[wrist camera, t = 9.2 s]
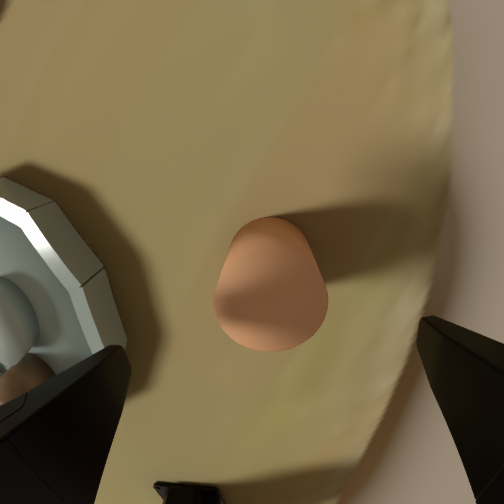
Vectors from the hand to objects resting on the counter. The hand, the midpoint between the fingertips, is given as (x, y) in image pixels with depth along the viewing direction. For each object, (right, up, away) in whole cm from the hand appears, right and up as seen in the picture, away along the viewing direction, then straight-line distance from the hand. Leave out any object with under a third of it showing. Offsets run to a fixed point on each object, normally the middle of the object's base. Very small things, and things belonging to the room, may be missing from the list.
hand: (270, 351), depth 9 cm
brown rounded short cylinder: (-17, -6, +10) cm, 20 cm away
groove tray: (-17, -1, +9) cm, 20 cm away
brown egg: (0, +3, +7) cm, 8 cm away
